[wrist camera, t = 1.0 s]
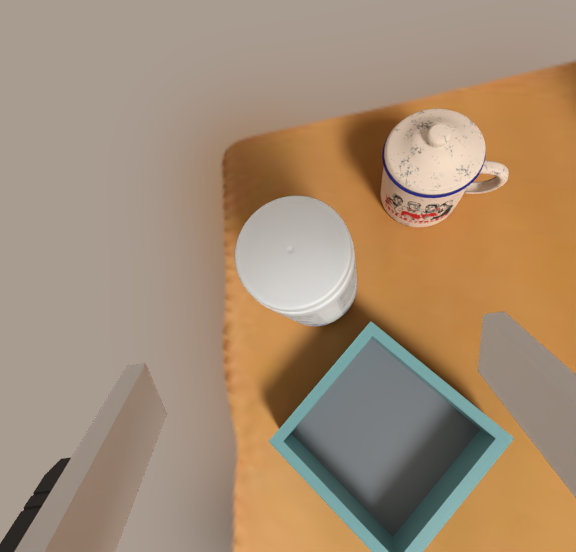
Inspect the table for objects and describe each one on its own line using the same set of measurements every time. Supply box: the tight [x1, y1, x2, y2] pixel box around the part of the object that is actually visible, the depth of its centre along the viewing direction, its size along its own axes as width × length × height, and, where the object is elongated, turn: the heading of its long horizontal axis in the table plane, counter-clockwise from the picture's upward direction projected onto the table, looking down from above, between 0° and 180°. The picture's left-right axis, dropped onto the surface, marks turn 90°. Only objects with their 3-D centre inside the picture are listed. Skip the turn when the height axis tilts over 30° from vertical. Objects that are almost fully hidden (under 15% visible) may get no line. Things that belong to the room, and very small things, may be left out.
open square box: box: [269, 321, 514, 552], centre depth 33 cm, size 15×15×5 cm
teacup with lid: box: [381, 109, 508, 227], centre depth 35 cm, size 12×9×12 cm
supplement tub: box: [235, 196, 357, 326], centre depth 34 cm, size 10×10×15 cm
